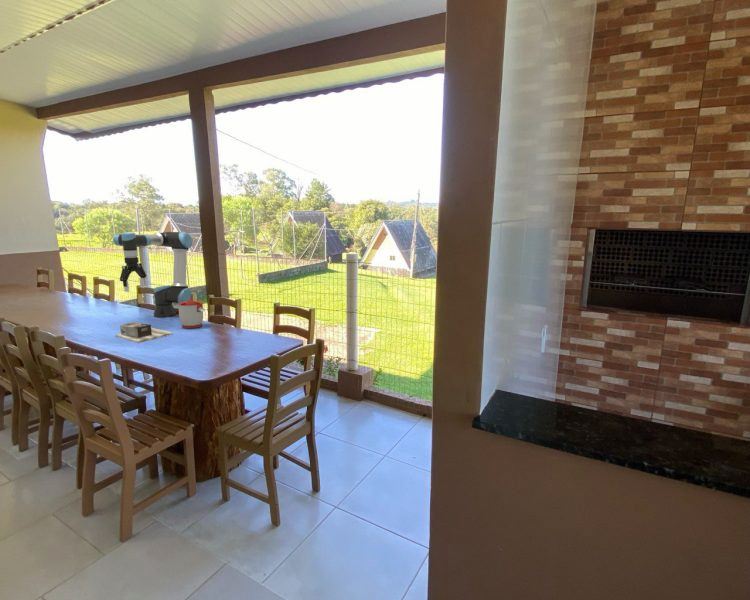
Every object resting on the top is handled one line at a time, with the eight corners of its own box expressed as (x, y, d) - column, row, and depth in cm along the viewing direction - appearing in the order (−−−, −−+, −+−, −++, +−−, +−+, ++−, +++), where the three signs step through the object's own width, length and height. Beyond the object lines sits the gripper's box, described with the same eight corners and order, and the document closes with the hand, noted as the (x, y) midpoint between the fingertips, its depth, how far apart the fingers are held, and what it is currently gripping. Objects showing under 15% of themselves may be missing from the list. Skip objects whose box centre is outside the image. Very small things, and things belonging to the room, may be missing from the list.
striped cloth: (150, 329, 254) (150, 327, 254) (172, 334, 243) (172, 332, 243) (115, 336, 235) (115, 334, 235) (137, 342, 224) (137, 340, 224)
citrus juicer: (196, 330, 253) (195, 301, 249) (174, 328, 256) (172, 299, 253) (211, 325, 268) (209, 297, 264) (189, 323, 271) (187, 296, 268)
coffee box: (133, 321, 242) (151, 324, 237) (134, 331, 243) (152, 334, 238) (119, 325, 234) (137, 327, 228) (120, 334, 235) (138, 338, 229)
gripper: (140, 254, 253) (143, 286, 258) (109, 258, 229) (114, 292, 233) (150, 255, 252) (153, 286, 257) (121, 259, 228) (125, 293, 233)
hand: (135, 289), depth 245 cm, fingers open, 13 cm apart
